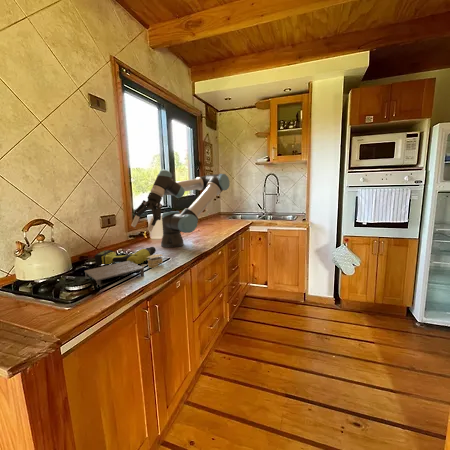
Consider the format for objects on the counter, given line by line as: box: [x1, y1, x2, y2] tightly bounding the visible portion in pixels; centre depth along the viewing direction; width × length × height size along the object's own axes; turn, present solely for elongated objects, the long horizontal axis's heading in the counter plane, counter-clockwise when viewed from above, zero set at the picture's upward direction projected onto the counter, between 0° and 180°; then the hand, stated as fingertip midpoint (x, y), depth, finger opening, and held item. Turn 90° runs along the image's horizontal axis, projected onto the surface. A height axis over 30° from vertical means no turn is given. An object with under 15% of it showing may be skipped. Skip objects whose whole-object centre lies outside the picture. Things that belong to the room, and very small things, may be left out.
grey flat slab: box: [83, 261, 145, 288], centre depth 111 cm, size 20×16×4 cm
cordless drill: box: [94, 246, 157, 266], centre depth 138 cm, size 7×25×25 cm
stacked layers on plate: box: [147, 253, 164, 269], centre depth 127 cm, size 10×9×6 cm
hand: (140, 228), depth 139 cm, fingers open, 13 cm apart
